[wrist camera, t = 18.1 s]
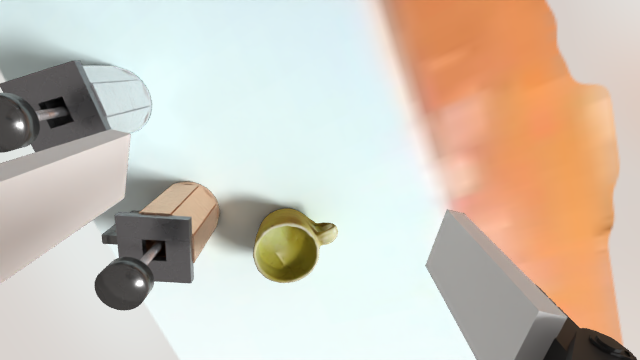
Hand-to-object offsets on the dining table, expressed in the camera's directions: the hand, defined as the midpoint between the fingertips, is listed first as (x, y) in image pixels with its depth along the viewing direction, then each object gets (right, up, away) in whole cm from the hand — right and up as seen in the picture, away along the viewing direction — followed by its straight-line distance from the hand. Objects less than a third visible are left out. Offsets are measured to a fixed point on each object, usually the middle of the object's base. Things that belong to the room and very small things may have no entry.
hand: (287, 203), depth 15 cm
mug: (-2, -7, +43) cm, 43 cm away
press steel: (-28, +12, +37) cm, 48 cm away
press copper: (-20, -4, +42) cm, 46 cm away
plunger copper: (-19, -4, +39) cm, 43 cm away
